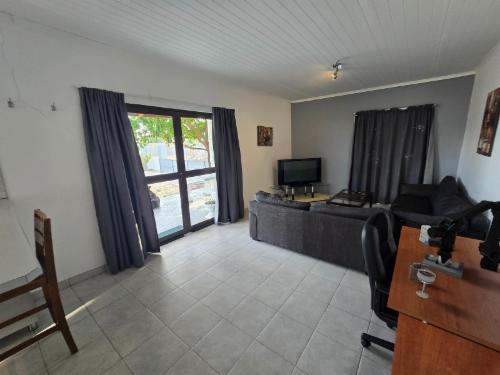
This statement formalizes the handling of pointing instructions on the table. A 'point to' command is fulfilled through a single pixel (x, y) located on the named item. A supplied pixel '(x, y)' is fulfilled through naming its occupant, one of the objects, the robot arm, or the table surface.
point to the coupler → (441, 263)
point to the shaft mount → (454, 269)
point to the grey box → (416, 271)
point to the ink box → (424, 234)
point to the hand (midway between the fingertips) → (443, 261)
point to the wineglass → (425, 280)
